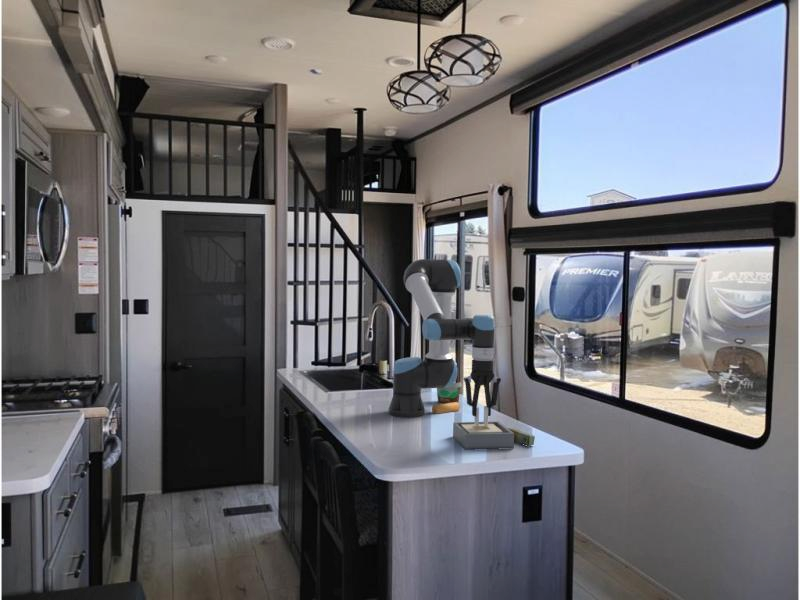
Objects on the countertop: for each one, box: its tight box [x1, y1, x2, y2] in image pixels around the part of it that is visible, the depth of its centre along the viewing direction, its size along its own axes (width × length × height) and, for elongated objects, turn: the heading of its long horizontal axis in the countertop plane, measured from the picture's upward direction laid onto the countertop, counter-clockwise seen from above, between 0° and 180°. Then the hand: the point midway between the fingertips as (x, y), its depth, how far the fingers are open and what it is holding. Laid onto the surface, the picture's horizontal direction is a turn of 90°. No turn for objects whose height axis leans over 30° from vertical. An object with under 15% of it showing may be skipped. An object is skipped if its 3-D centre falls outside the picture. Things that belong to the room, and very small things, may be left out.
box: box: [452, 420, 515, 451], centre depth 224 cm, size 17×17×6 cm
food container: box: [436, 381, 463, 404], centre depth 288 cm, size 12×6×10 cm, turn 76°
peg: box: [431, 402, 461, 415], centre depth 271 cm, size 4×4×12 cm
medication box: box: [507, 427, 536, 447], centre depth 225 cm, size 12×3×4 cm, turn 31°
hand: (481, 425), depth 226 cm, fingers open, 3 cm apart
